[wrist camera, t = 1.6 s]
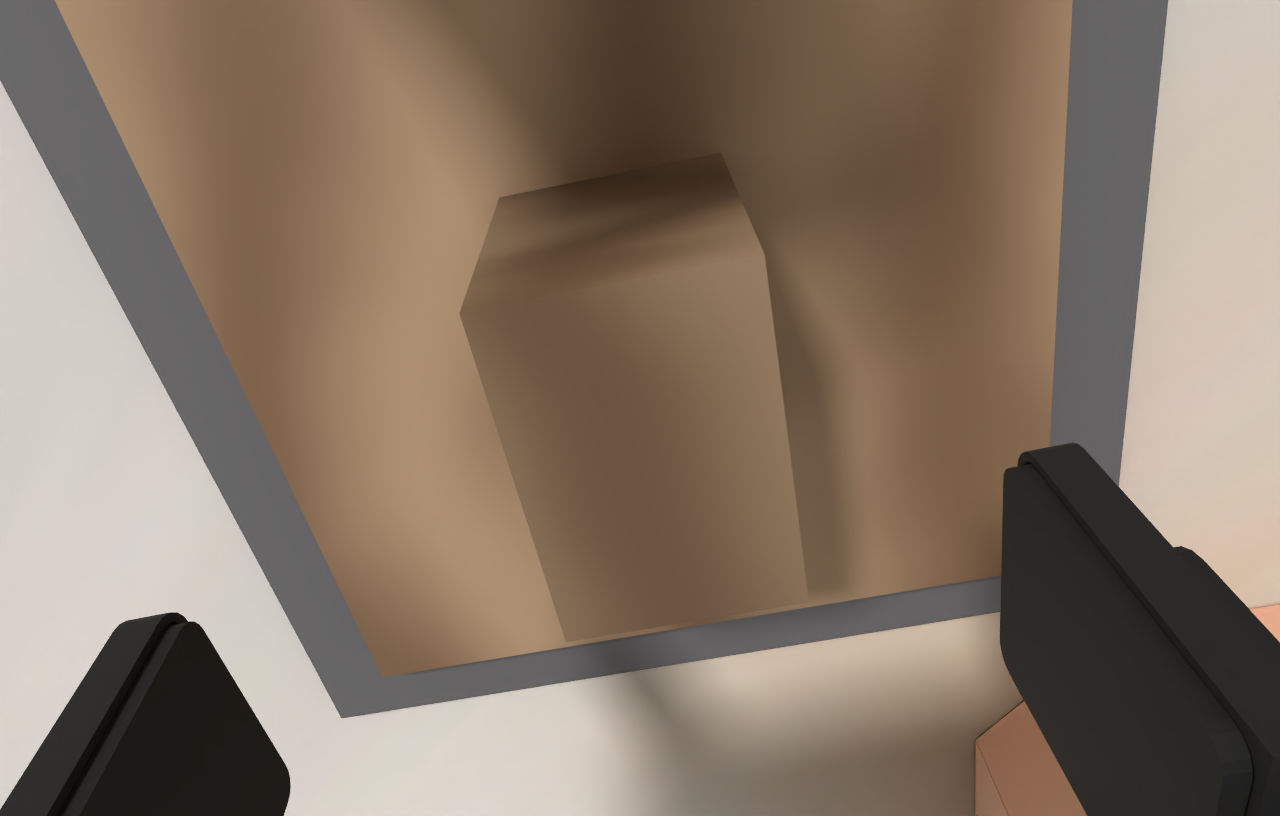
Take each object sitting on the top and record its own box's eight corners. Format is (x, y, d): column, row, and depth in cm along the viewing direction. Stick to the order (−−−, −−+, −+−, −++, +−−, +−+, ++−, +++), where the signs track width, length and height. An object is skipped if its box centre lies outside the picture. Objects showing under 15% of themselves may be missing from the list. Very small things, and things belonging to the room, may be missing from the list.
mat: (1196, -470, 13) (1217, -483, 12) (1098, 580, 23) (1107, 594, 22) (-105, -157, 14) (-128, -159, 14) (346, 703, 24) (341, 718, 24)
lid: (1062, -270, 13) (1336, -365, 8) (1029, 546, 21) (1158, 747, 16) (63, -43, 14) (-225, -4, 9) (388, 652, 22) (326, 872, 17)
